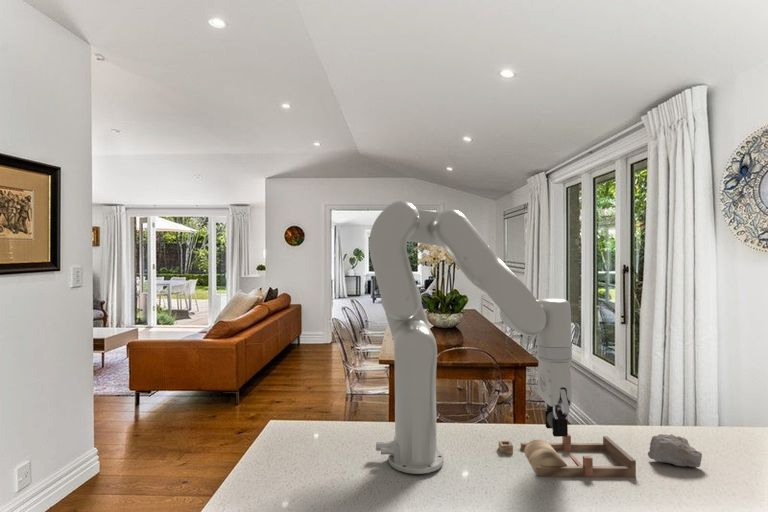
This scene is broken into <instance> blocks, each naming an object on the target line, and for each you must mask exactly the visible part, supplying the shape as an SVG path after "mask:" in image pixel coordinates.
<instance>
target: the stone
mask: <svg viewBox="0 0 768 512" xmlns="http://www.w3.org/2000/svg"><path fill="white" fill-rule="evenodd" d="M648 449H649V451H648V453H647V456H648V458H649V459H651V460H653V461H656V462H658V463H666V464H667V463H668V464H672V465H674V466H678V467H691V468H700V466H701V464H702V458H703V454H702V452H701V451H699V450H697V449H695V448H694V447H693V446H691V445H690V443H689V441H688V439H687V438H685V437H682V436H675V435H673V434H671V433H670V434H662V433H661V434H657V435H653V436H652V437H651V439H650V444H649V448H648Z"/></svg>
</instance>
